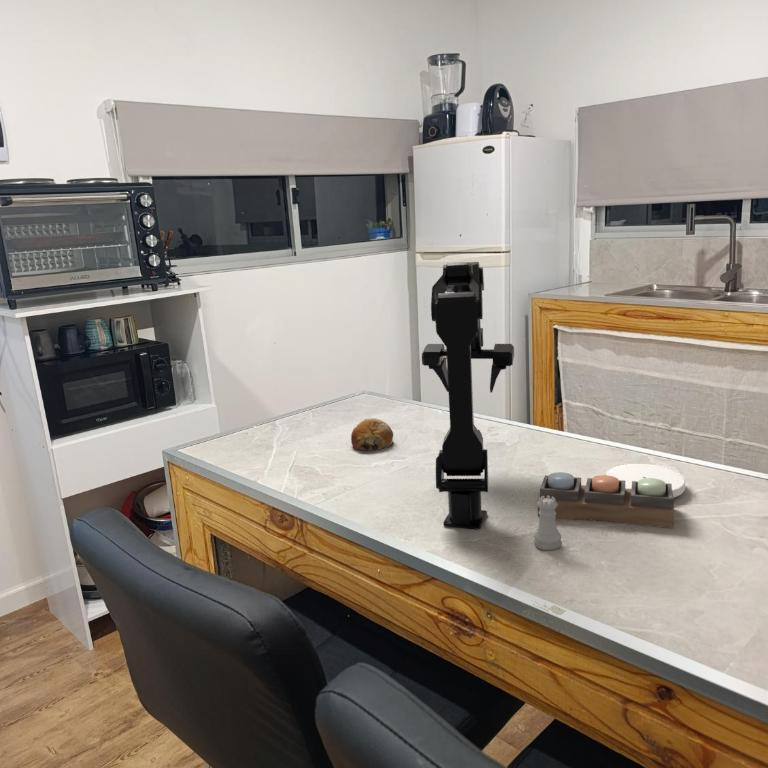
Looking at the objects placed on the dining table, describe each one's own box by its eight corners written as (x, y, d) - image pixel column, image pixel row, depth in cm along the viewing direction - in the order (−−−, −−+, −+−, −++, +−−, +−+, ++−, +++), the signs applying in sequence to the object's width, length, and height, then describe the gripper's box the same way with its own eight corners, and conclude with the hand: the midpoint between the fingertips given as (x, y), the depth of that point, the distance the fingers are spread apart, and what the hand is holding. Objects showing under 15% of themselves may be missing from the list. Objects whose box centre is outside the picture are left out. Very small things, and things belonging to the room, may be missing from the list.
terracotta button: (618, 496, 120) (618, 485, 119) (591, 494, 121) (591, 484, 121) (619, 486, 123) (619, 476, 123) (592, 484, 125) (593, 474, 125)
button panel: (673, 528, 116) (674, 501, 115) (537, 516, 123) (537, 490, 122) (672, 507, 123) (673, 482, 122) (544, 497, 131) (543, 473, 130)
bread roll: (398, 457, 167) (403, 423, 168) (375, 452, 159) (381, 417, 160) (363, 451, 173) (369, 419, 174) (340, 446, 164) (346, 413, 165)
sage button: (665, 500, 117) (666, 489, 116) (637, 498, 118) (637, 487, 118) (665, 489, 121) (665, 479, 120) (637, 488, 122) (638, 477, 122)
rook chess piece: (556, 553, 110) (556, 506, 108) (529, 548, 113) (528, 501, 111) (565, 541, 114) (565, 495, 112) (539, 536, 116) (538, 491, 114)
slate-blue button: (572, 493, 122) (572, 482, 122) (546, 491, 124) (546, 480, 123) (574, 483, 126) (574, 473, 126) (549, 481, 128) (549, 471, 127)
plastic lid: (666, 512, 122) (667, 499, 121) (591, 494, 131) (591, 481, 131) (696, 485, 132) (696, 473, 131) (624, 470, 141) (624, 458, 141)
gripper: (515, 308, 149) (516, 376, 155) (428, 310, 154) (433, 375, 160) (511, 327, 139) (513, 398, 146) (418, 328, 144) (424, 397, 150)
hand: (469, 391), depth 151 cm, fingers open, 9 cm apart
